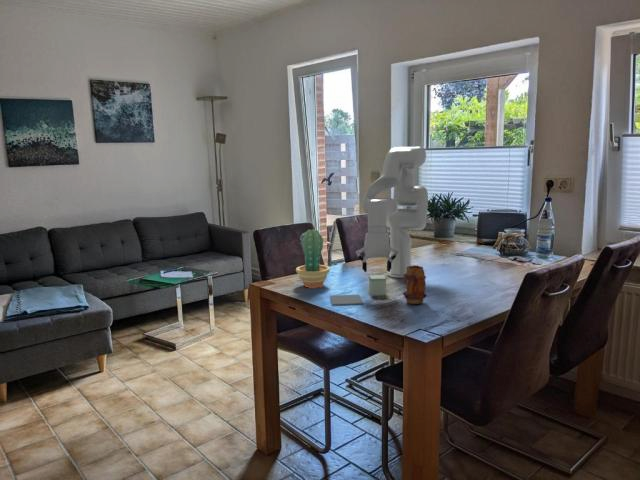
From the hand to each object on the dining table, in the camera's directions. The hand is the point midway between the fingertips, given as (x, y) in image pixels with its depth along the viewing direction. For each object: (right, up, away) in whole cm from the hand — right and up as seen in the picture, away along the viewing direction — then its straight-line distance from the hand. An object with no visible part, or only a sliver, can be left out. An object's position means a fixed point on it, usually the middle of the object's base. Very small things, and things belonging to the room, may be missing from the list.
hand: (376, 271), depth 206 cm
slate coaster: (-13, -11, -7) cm, 19 cm away
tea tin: (0, -9, +2) cm, 10 cm away
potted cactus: (-26, -8, +17) cm, 32 cm away
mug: (+13, -12, -15) cm, 23 cm away
